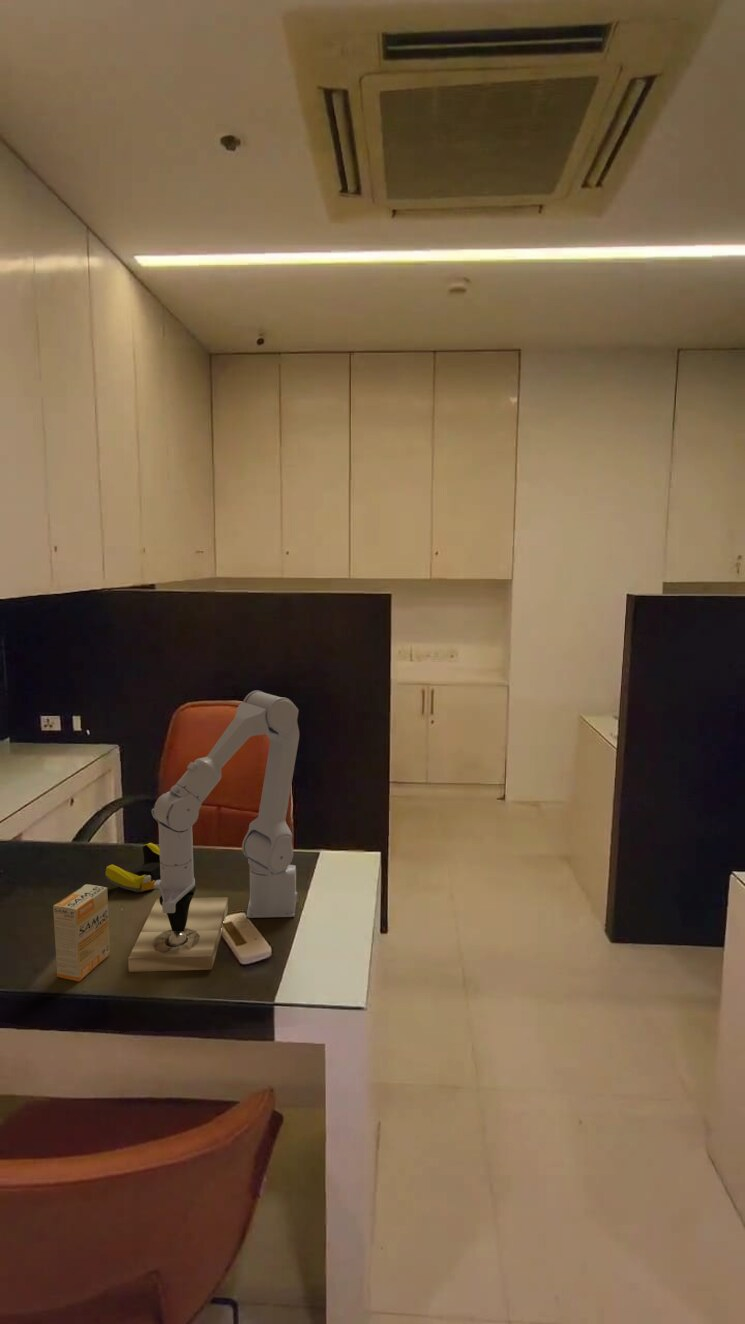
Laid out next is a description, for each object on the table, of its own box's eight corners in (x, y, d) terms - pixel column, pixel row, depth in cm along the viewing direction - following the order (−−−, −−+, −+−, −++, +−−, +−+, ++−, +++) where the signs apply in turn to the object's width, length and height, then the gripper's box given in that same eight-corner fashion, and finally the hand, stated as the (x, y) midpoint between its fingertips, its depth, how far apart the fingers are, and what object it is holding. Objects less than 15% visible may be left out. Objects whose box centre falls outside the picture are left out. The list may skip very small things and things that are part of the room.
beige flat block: (157, 910, 135) (156, 898, 135) (228, 908, 136) (227, 897, 136) (128, 971, 116) (128, 958, 115) (211, 969, 117) (211, 956, 116)
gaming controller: (101, 891, 142) (139, 901, 139) (100, 867, 142) (138, 876, 138) (149, 862, 156) (185, 870, 153) (148, 839, 155) (184, 847, 152)
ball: (170, 955, 119) (186, 953, 121) (176, 938, 119) (192, 937, 121) (162, 944, 121) (178, 942, 123) (168, 928, 121) (184, 926, 123)
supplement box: (80, 983, 112) (76, 910, 110) (56, 977, 114) (51, 905, 112) (112, 955, 120) (108, 886, 118) (89, 950, 121) (85, 882, 119)
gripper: (163, 842, 127) (165, 908, 130) (142, 878, 113) (146, 953, 115) (201, 841, 128) (203, 908, 130) (185, 878, 114) (187, 952, 116)
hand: (178, 929), depth 123 cm, fingers closed
